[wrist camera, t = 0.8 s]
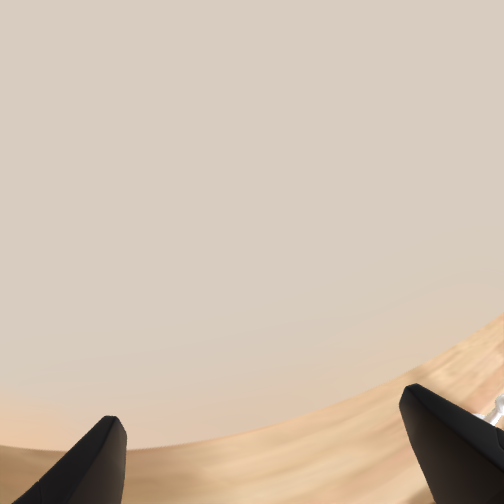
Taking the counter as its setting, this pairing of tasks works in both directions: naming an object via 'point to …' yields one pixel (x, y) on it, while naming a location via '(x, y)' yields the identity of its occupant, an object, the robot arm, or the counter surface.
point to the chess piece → (494, 411)
